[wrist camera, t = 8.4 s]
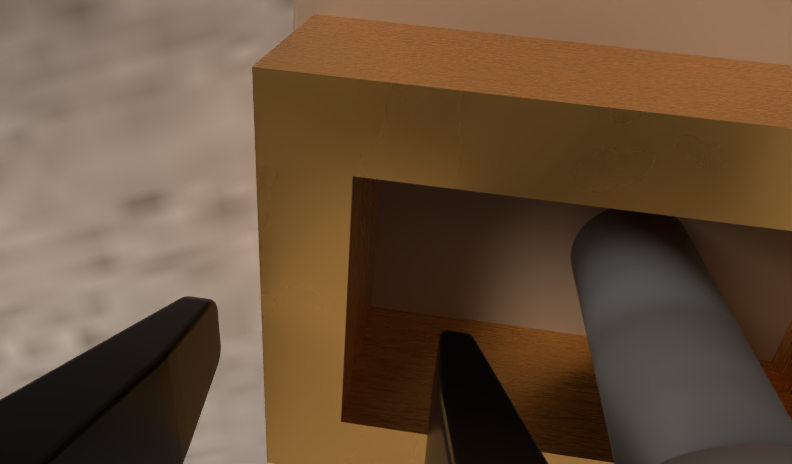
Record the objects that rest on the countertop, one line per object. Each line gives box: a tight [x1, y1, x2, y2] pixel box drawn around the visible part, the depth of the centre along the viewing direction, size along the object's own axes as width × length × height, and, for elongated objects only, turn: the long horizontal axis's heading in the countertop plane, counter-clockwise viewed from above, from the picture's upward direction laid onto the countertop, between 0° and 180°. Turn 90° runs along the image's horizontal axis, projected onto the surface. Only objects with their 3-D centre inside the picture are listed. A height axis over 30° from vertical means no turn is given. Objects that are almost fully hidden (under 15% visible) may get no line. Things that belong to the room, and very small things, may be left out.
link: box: [252, 14, 792, 464], centre depth 10 cm, size 7×10×3 cm, turn 85°
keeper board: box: [294, 0, 792, 464], centre depth 9 cm, size 12×12×7 cm
